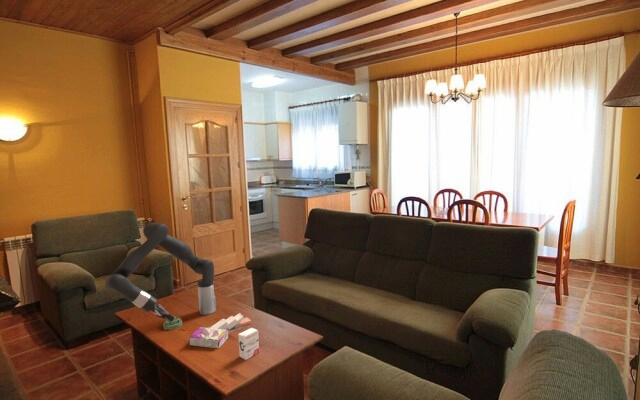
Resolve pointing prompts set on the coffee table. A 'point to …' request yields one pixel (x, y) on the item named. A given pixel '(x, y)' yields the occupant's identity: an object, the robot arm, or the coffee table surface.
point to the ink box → (248, 343)
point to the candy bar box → (208, 337)
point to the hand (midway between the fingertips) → (172, 319)
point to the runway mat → (233, 329)
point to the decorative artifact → (172, 323)
